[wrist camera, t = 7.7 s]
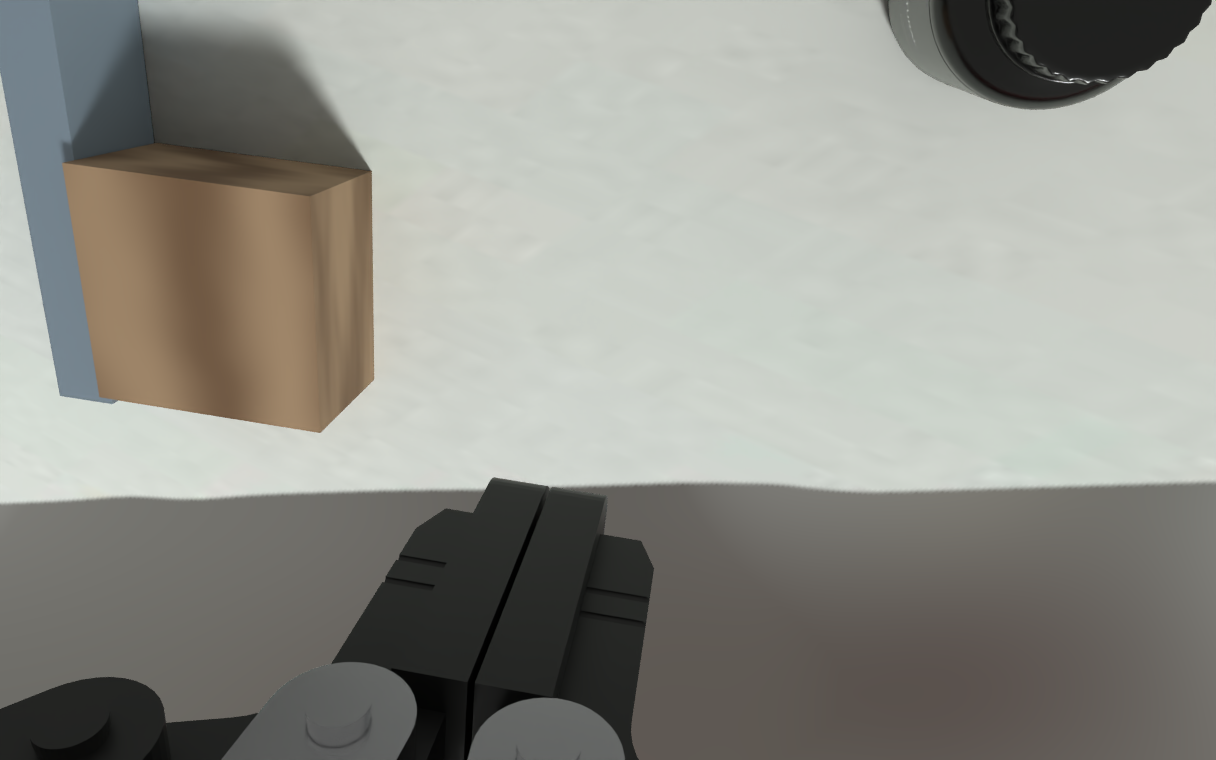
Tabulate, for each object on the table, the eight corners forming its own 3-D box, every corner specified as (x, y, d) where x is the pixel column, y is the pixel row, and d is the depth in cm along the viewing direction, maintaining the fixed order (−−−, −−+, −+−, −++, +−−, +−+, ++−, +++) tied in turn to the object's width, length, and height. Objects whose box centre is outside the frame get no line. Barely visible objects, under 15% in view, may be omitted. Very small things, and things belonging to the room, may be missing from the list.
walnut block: (182, 348, 42) (99, 397, 36) (159, 142, 38) (62, 162, 32) (375, 377, 41) (320, 432, 36) (373, 170, 37) (310, 196, 31)
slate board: (133, 355, 42) (60, 395, 38) (68, -101, 34) (-36, -120, 29) (180, 362, 42) (112, 403, 37) (126, -96, 34) (31, -114, 29)
